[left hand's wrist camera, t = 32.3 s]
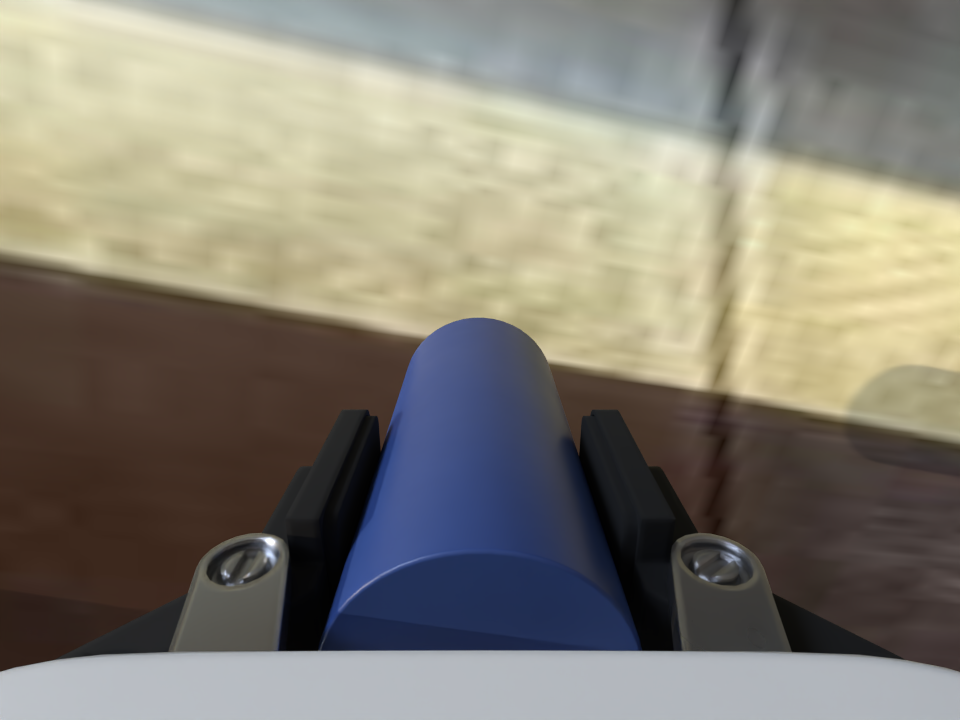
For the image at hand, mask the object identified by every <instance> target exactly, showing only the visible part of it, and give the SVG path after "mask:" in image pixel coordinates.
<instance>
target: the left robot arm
mask: <svg viewBox="0 0 960 720" xmlns="http://www.w3.org/2000/svg"><path fill="white" fill-rule="evenodd" d="M380 453H381V450H380V436H379V423H378V417H377V416H370V415H369V411H368V410H342V411H341V413H340V415H339V417H338V419H337V420H336V422H335V424H334V426H333V428H332V430H331V432H330V434H329V436H328V438H327V439H326V441H325V443H324V445H323V447H322V449H321V451H320V453H319V455H318V456H317V458H316V460H315V462H314V464H313V466H303V467H300V468H299V469H298V470H297V472H296V474H295V476H294V477H293V479H292V481H291V483H290V484H289V486H288V488H287V490H286V491H285V493H284V495H283V497H282V498H281V500H280V502H279V504H278V506H277V507H276V509H275V511H274V513H273V514H272V516H271V518H270V520H269V521H268V523H267V525H266V527H265V528H264V530H263V532H262V533H257V534H247V535H243V536H238V537H235V538H232V539H230V540H228V541H225V542H223V543H221V544H220V545H218V546H216V547H215V548H213V549H212V550H210V551H209V552H208V553H207V554H206V555H205V556H204V557H203V558H202V559H201V561H200V563H199V565H198V567H197V568H196V571H195V574H194V577H193V580H192V583H191V586H190V589H189V592H188V593H187V594H185V595H183V596H181V597H179V598H177V599H175V600H173V601H171V602H169V603H167V604H165V605H163V606H161V607H159V608H157V609H155V610H153V611H151V612H149V613H147V614H145V615H143V616H141V617H139V618H137V619H135V620H133V621H131V622H129V623H127V624H125V625H123V626H121V627H119V628H117V629H115V630H113V631H111V632H109V633H107V634H105V635H103V636H101V637H99V638H97V639H95V640H93V641H91V642H89V643H87V644H85V645H83V646H81V647H79V648H77V649H75V650H73V651H71V652H69V653H67V654H65V655H63V656H61V657H59V658H58V659H56V660H53V661H48V662H43V663H38V664H32V665H27V666H22V667H17V668H13V669H9V670H6V671H2V672H0V720H960V672H958V671H954V670H951V669H947V668H943V667H938V666H933V665H928V664H922V663H917V662H912V661H907V660H904V659H903V658H901V657H899V656H897V655H895V654H893V653H891V652H889V651H887V650H885V649H883V648H881V647H879V646H877V645H875V644H873V643H871V642H869V641H867V640H865V639H863V638H861V637H859V636H857V635H855V634H853V633H851V632H849V631H847V630H845V629H843V628H841V627H839V626H837V625H835V624H833V623H831V622H829V621H827V620H825V619H823V618H821V617H819V616H817V615H815V614H813V613H811V612H809V611H807V610H805V609H803V608H801V607H799V606H797V605H795V604H793V603H791V602H789V601H787V600H785V599H783V598H781V597H779V596H777V595H775V594H773V593H772V592H771V589H770V586H769V583H768V580H767V577H766V574H765V571H764V568H763V567H762V565H761V563H760V561H759V559H758V558H757V557H756V556H755V555H754V554H753V553H752V552H751V551H750V550H748V549H747V548H745V547H744V546H742V545H740V544H739V543H737V542H735V541H732V540H730V539H728V538H725V537H722V536H717V535H713V534H703V533H698V532H697V530H696V528H695V526H694V524H693V523H692V521H691V519H690V517H689V516H688V514H687V512H686V510H685V509H684V507H683V505H682V503H681V502H680V500H679V498H678V496H677V495H676V493H675V491H674V489H673V488H672V486H671V484H670V482H669V481H668V479H667V477H666V475H665V473H664V472H663V470H662V469H661V468H660V467H657V466H648V465H647V464H646V462H645V460H644V458H643V456H642V454H641V452H640V450H639V448H638V447H637V445H636V443H635V441H634V439H633V437H632V435H631V433H630V431H629V430H628V428H627V426H626V424H625V422H624V420H623V418H622V416H621V414H620V413H619V411H618V410H592V412H591V415H590V416H583V418H582V425H581V439H580V453H579V458H580V461H581V464H582V467H583V470H584V473H585V476H586V479H587V482H588V485H589V488H590V492H591V495H592V498H593V501H594V504H595V507H596V510H597V513H598V516H599V519H600V522H601V525H602V528H603V531H604V534H605V537H606V540H607V543H608V546H609V549H610V552H611V555H612V558H613V561H614V564H615V567H616V570H617V573H618V576H619V579H620V582H621V585H622V588H623V591H624V594H625V597H626V600H627V603H628V606H629V609H630V612H631V615H632V618H633V621H634V624H635V627H636V630H637V633H638V636H639V639H640V644H641V648H642V651H318V648H319V643H320V640H321V637H322V634H323V631H324V628H325V624H326V621H327V618H328V615H329V612H330V609H331V606H332V603H333V600H334V596H335V593H336V590H337V587H338V584H339V581H340V578H341V575H342V572H343V568H344V565H345V562H346V559H347V556H348V553H349V550H350V547H351V544H352V541H353V537H354V534H355V531H356V528H357V525H358V522H359V519H360V516H361V513H362V509H363V506H364V503H365V500H366V497H367V494H368V491H369V488H370V485H371V481H372V478H373V475H374V472H375V469H376V466H377V463H378V460H379V457H380Z"/></svg>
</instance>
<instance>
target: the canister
mask: <svg viewBox="0 0 960 720" xmlns="http://www.w3.org/2000/svg"><path fill="white" fill-rule="evenodd" d="M318 651H642V648H641V644H640V639H639V636H638V633H637V630H636V627H635V624H634V621H633V618H632V615H631V612H630V609H629V606H628V603H627V600H626V597H625V594H624V591H623V588H622V585H621V582H620V579H619V576H618V573H617V570H616V567H615V564H614V561H613V558H612V555H611V552H610V549H609V546H608V543H607V540H606V537H605V534H604V531H603V528H602V525H601V522H600V519H599V516H598V513H597V510H596V507H595V504H594V501H593V498H592V495H591V492H590V488H589V485H588V482H587V479H586V476H585V473H584V470H583V467H582V464H581V461H580V458H579V455H578V452H577V449H576V446H575V443H574V440H573V437H572V434H571V431H570V428H569V425H568V422H567V419H566V416H565V413H564V410H563V407H562V404H561V401H560V398H559V395H558V392H557V389H556V386H555V383H554V380H553V377H552V374H551V371H550V368H549V365H548V362H547V360H546V358H545V356H544V354H543V352H542V351H541V349H540V348H539V346H538V345H537V344H536V343H535V341H533V340H532V339H531V338H530V337H529V336H528V335H527V334H526V333H524V332H523V331H522V330H520V329H518V328H516V327H515V326H513V325H511V324H508V323H506V322H503V321H499V320H495V319H489V318H469V319H462V320H459V321H455V322H452V323H450V324H447V325H445V326H443V327H441V328H439V329H438V330H436V331H435V332H433V333H432V334H431V335H429V336H428V337H427V338H426V339H425V340H424V341H423V342H422V343H421V345H420V346H419V347H418V349H417V350H416V351H415V353H414V355H413V357H412V359H411V361H410V364H409V367H408V370H407V373H406V376H405V379H404V382H403V385H402V388H401V391H400V394H399V398H398V401H397V404H396V407H395V410H394V413H393V416H392V419H391V422H390V426H389V429H388V432H387V435H386V438H385V441H384V444H383V447H382V450H381V453H380V457H379V460H378V463H377V466H376V469H375V472H374V475H373V478H372V481H371V485H370V488H369V491H368V494H367V497H366V500H365V503H364V506H363V509H362V513H361V516H360V519H359V522H358V525H357V528H356V531H355V534H354V537H353V541H352V544H351V547H350V550H349V553H348V556H347V559H346V562H345V565H344V568H343V572H342V575H341V578H340V581H339V584H338V587H337V590H336V593H335V596H334V600H333V603H332V606H331V609H330V612H329V615H328V618H327V621H326V624H325V628H324V631H323V634H322V637H321V640H320V643H319V648H318Z"/></svg>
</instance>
